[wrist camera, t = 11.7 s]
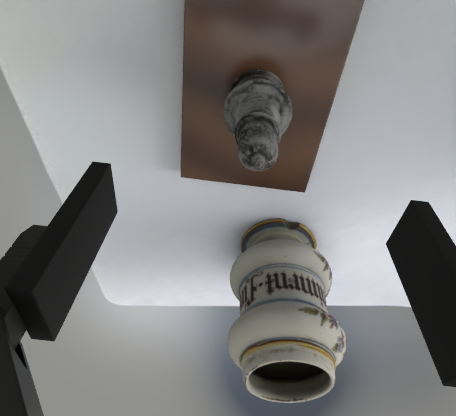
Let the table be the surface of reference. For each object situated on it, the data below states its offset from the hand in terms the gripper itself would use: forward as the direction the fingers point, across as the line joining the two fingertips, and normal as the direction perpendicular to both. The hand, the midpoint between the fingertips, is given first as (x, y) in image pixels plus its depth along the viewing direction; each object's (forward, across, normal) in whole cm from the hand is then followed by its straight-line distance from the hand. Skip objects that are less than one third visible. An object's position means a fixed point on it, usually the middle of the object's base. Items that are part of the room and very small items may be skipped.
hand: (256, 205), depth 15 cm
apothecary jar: (+20, +6, -23) cm, 31 cm away
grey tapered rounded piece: (+19, 0, -3) cm, 19 cm away
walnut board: (+20, 0, -3) cm, 20 cm away
